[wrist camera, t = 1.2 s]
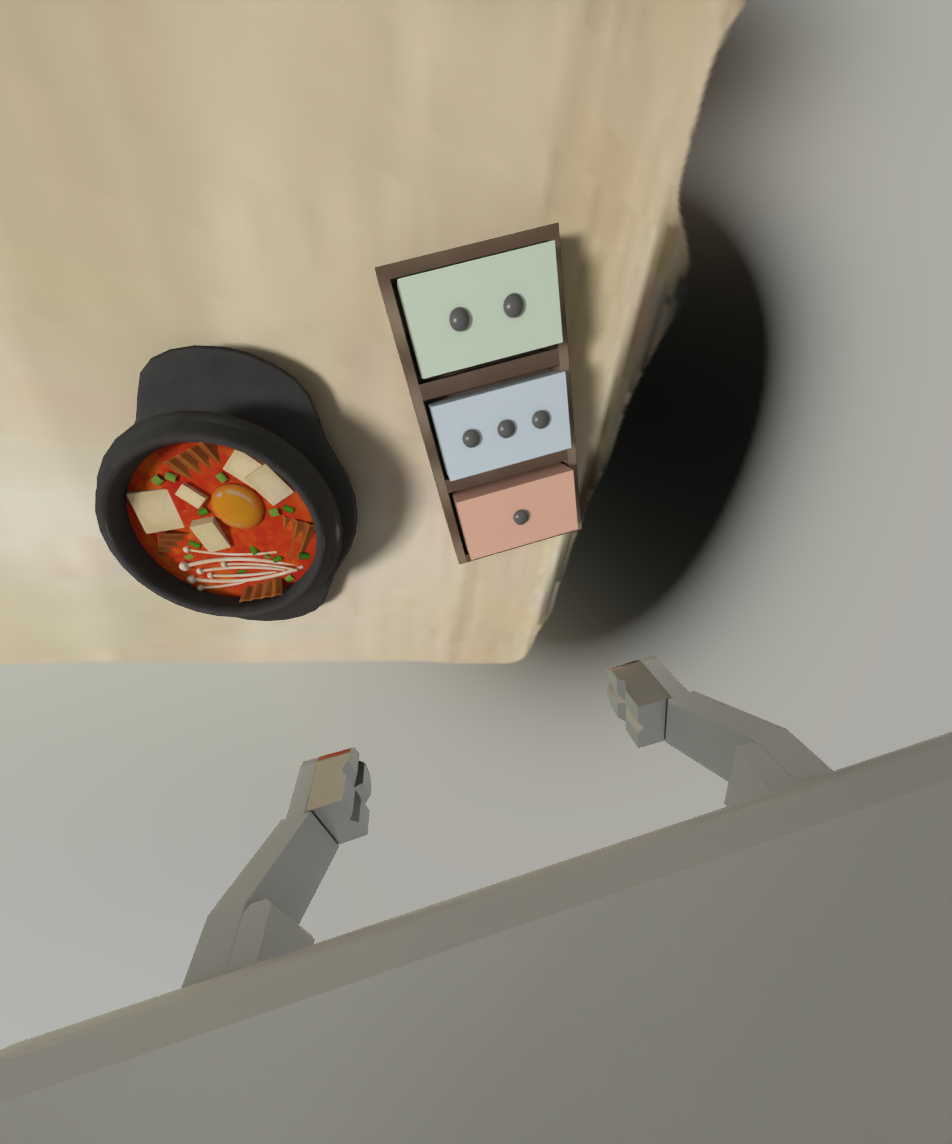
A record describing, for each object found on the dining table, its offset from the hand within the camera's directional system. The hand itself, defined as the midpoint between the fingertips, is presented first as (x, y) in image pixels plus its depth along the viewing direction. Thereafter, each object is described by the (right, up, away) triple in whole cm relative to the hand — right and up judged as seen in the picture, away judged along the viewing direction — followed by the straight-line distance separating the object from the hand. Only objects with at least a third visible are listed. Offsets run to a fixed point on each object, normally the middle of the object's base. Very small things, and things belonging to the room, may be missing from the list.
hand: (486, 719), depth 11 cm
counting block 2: (+1, +18, +21) cm, 28 cm away
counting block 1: (0, +25, +17) cm, 30 cm away
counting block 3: (+3, +11, +26) cm, 28 cm away
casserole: (-21, +11, +23) cm, 33 cm away
